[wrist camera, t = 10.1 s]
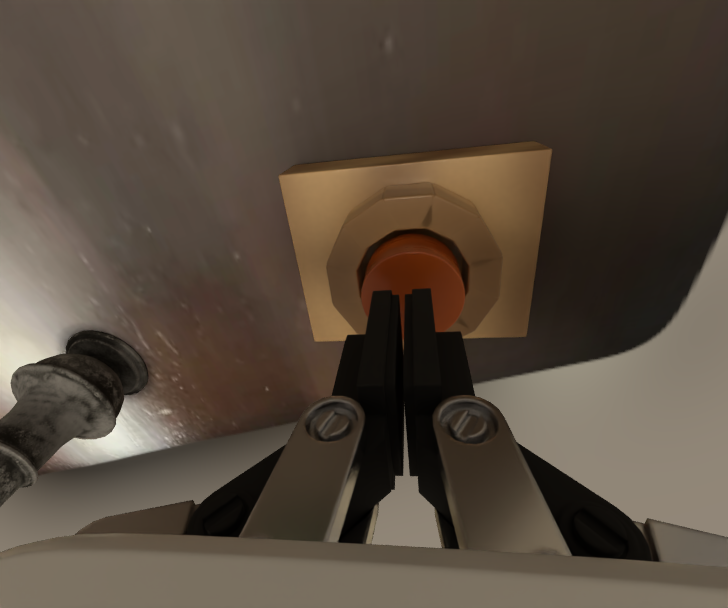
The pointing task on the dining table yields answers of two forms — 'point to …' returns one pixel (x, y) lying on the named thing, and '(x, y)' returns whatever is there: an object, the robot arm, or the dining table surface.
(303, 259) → the button block
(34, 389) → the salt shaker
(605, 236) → the dining table surface
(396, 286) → the button
